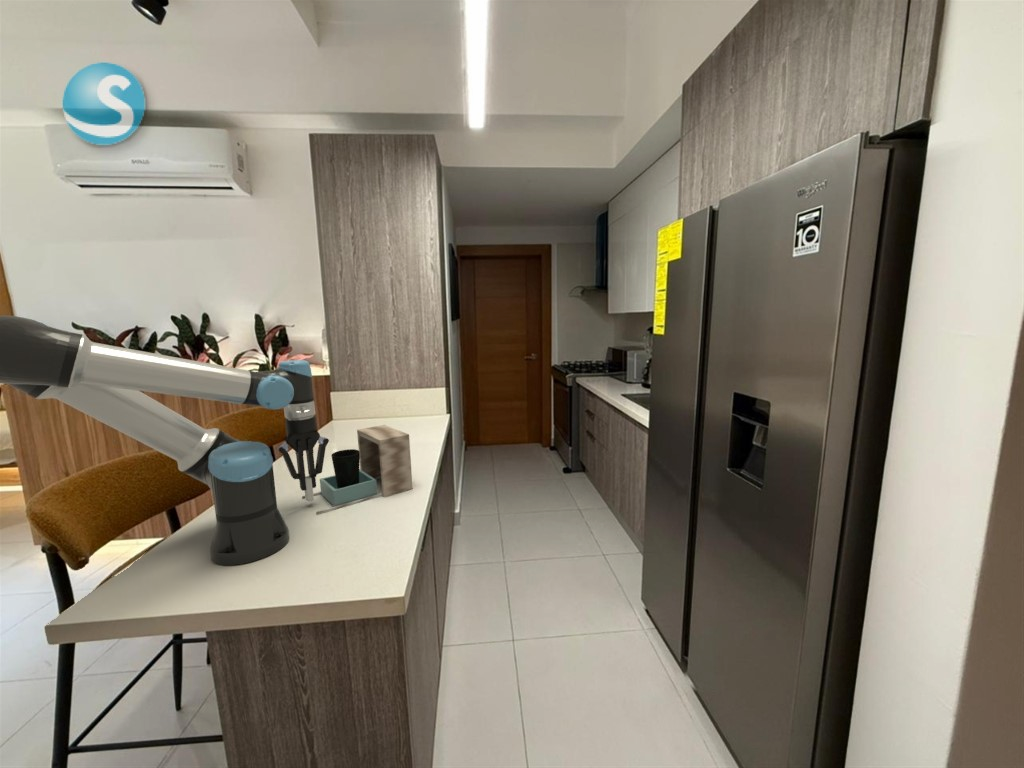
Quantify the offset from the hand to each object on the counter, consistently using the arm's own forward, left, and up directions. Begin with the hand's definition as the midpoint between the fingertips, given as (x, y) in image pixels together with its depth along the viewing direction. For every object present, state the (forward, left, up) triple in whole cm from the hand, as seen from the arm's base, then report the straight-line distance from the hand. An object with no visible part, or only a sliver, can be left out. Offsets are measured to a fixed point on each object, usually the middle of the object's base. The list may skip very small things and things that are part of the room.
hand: (309, 499), depth 117 cm
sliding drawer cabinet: (+13, 0, -2) cm, 13 cm away
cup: (+11, 0, -1) cm, 11 cm away
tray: (+11, 0, -2) cm, 11 cm away
